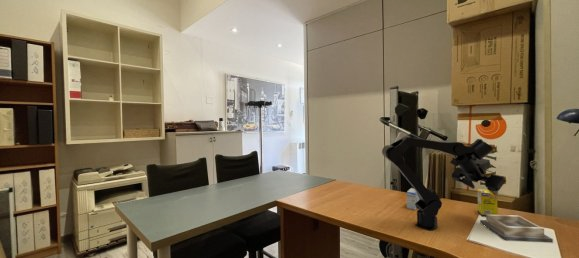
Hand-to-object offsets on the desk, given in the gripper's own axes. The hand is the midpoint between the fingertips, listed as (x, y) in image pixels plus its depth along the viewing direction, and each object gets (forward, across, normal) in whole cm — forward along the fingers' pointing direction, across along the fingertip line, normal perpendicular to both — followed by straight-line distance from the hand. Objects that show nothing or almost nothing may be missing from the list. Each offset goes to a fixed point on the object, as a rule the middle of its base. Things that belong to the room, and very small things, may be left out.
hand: (484, 191), depth 103 cm
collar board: (+10, -11, +8) cm, 17 cm away
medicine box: (+2, +25, +20) cm, 32 cm away
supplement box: (+16, +4, +2) cm, 17 cm away
